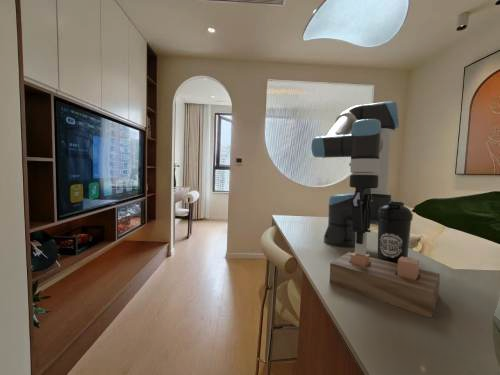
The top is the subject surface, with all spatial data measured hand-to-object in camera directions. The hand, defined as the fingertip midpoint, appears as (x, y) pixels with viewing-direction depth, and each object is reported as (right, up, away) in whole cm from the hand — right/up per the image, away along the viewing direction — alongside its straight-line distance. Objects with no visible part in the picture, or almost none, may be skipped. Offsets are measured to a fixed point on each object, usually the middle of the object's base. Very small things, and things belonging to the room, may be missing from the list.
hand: (360, 253), depth 70 cm
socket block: (+4, -9, -4) cm, 10 cm away
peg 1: (0, -6, 0) cm, 6 cm away
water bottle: (+16, -9, +11) cm, 21 cm away
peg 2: (+9, -5, -8) cm, 13 cm away
